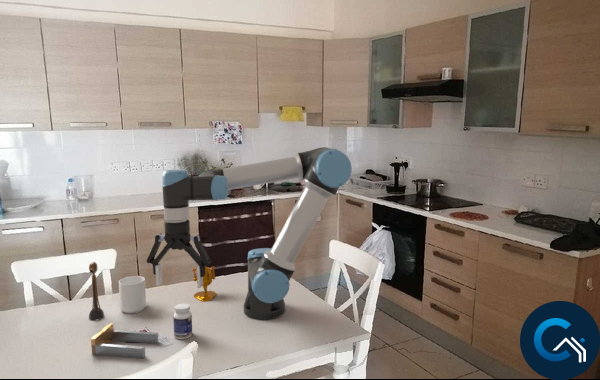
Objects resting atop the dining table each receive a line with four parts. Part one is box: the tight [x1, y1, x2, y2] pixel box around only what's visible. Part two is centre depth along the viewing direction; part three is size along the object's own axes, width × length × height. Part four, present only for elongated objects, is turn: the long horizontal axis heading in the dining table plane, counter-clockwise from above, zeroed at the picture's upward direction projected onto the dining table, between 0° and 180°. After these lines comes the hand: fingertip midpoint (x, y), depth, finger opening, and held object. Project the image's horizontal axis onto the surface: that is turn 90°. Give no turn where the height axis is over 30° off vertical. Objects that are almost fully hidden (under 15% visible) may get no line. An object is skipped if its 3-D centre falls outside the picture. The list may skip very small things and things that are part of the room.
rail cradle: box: [90, 323, 159, 359], centre depth 133 cm, size 16×10×5 cm, turn 83°
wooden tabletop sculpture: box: [88, 261, 105, 321], centre depth 152 cm, size 6×5×20 cm
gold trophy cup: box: [192, 266, 217, 303], centre depth 172 cm, size 9×11×12 cm
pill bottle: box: [173, 303, 193, 340], centre depth 140 cm, size 6×6×10 cm
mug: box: [118, 275, 147, 314], centre depth 161 cm, size 12×9×11 cm
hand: (179, 285), depth 139 cm, fingers open, 13 cm apart
